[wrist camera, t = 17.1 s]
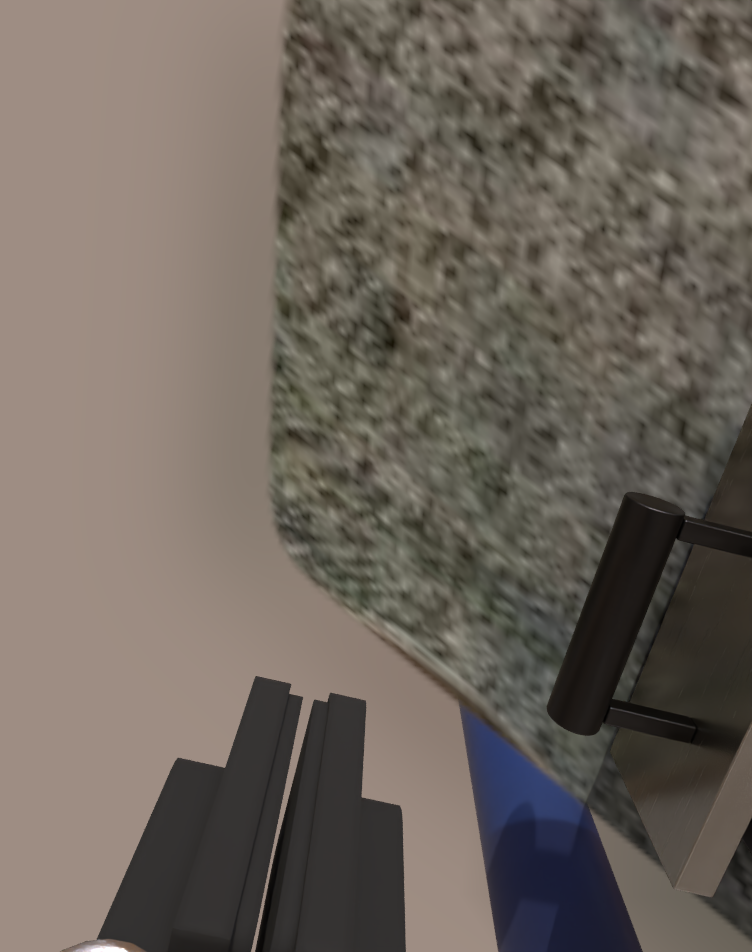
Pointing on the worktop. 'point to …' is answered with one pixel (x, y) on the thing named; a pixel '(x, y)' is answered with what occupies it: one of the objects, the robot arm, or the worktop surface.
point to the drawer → (675, 674)
